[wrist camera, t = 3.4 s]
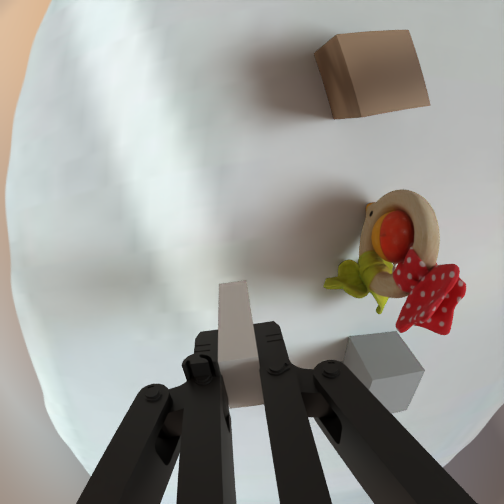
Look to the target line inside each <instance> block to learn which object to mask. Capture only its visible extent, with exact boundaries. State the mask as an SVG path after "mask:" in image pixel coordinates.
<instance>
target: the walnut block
mask: <svg viewBox="0 0 504 504" xmlns="http://www.w3.org/2000/svg"><path fill="white" fill-rule="evenodd" d="M314 56H315V59H316V62H317V65H318V68H319V71H320V74H321V77H322V81H323V84H324V87H325V90H326V94H327V97H328V101H329V104H330V107H331V111H332V115H333V118H334V119H345V118H359V117H366V116H371V115H376V114H382V113H387V112H393V111H398V110H404V109H410V108H417V107H423V106H430V101H429V97H428V93H427V89H426V85H425V81H424V78H423V74H422V70H421V67H420V64H419V60H418V57H417V54H416V51H415V47H414V44H413V41H412V38H411V36H410V33H409V30H386V31H369V32H357V33H347V34H338V35H335V36H334V37H333V38H332V39H330V40H329V41H328V42H327V43H326V44H324V45H323V46H322V47H321V48H320V49H318V50H317V51H316V52H315V53H314Z"/></svg>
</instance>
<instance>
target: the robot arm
mask: <svg viewBox="0 0 504 504" xmlns="http://www.w3.org/2000/svg"><path fill="white" fill-rule="evenodd" d="M182 368H183V371H184V374H185V376H186V379H187V382H185V383H184V384H182V385H180V386H178V387H175V388H171V389H168V388H167V387H166V386H164V385H162V384H151V385H147V386H145V387H144V388H142V389H141V390H140V392H139V393H138V394H137V396H136V398H135V400H134V401H133V403H132V405H131V406H130V408H129V410H128V412H127V413H126V415H125V417H124V419H123V420H122V422H121V424H120V426H119V427H118V429H117V431H116V433H115V434H114V436H113V438H112V440H111V442H110V443H109V445H108V447H107V449H106V450H105V452H104V454H103V456H102V458H101V459H100V461H99V463H98V465H97V467H96V468H95V470H94V472H93V474H92V476H91V477H90V479H89V481H88V483H87V485H86V487H85V489H84V490H83V492H82V494H81V496H80V498H79V500H78V501H77V503H76V504H160V502H161V500H162V497H163V495H164V492H165V490H166V487H167V484H168V482H169V479H170V477H171V474H172V471H173V469H174V466H175V464H176V461H177V458H178V456H179V453H180V458H179V472H178V487H177V504H236V492H235V477H234V462H233V446H232V429H231V417H230V413H229V407H230V408H239V407H247V406H255V405H262V404H264V406H265V412H266V419H267V425H268V431H269V438H270V444H271V450H272V457H273V463H274V469H275V475H276V481H277V488H278V494H279V500H280V504H332V502H331V498H330V495H329V491H328V487H327V484H326V480H325V477H324V473H323V469H322V466H321V462H320V459H319V455H318V452H317V448H316V444H315V441H314V437H313V434H312V430H311V427H310V423H309V420H308V417H314V419H315V421H316V422H317V424H318V425H319V427H320V428H321V430H322V431H323V432H324V434H325V435H326V437H327V438H328V440H329V441H330V443H331V444H332V445H333V447H334V448H335V450H336V451H337V453H338V454H339V455H340V457H341V458H342V460H343V461H344V462H345V464H346V465H347V467H348V468H349V469H350V471H351V472H352V474H353V475H354V476H355V478H356V479H357V481H358V482H359V483H360V485H361V486H362V487H363V489H364V490H365V492H366V493H367V494H368V496H369V497H370V498H371V500H372V501H373V502H374V504H477V503H476V502H475V501H474V500H473V499H472V498H471V497H470V496H469V495H468V494H467V493H466V492H465V491H464V489H463V488H462V487H461V486H460V485H459V484H458V483H457V482H456V481H455V480H454V479H453V478H452V477H451V476H450V475H449V474H448V473H447V472H446V471H445V470H444V469H443V468H442V467H441V466H440V464H439V463H438V462H437V461H436V460H435V459H434V458H433V457H432V456H431V455H430V454H429V453H428V452H427V451H426V450H425V449H424V448H423V447H422V446H421V445H420V444H419V442H418V441H417V440H416V439H415V438H414V437H413V436H412V435H411V434H410V433H409V432H408V431H407V430H406V429H405V428H404V427H403V426H402V425H401V423H400V422H399V421H398V420H397V419H396V418H395V417H394V416H393V415H392V414H391V413H390V412H389V411H388V410H387V409H386V408H385V407H384V405H383V404H382V403H381V402H380V401H379V400H378V399H377V398H376V397H375V396H374V395H373V394H372V393H371V392H370V391H369V390H368V388H367V387H366V386H365V385H364V384H363V383H362V382H361V381H360V380H359V379H358V378H357V377H356V376H355V375H354V374H353V372H352V371H351V370H350V369H349V368H348V367H347V366H346V365H345V364H343V363H342V362H339V361H336V360H327V361H323V362H321V363H319V364H317V366H316V367H315V368H314V369H302V368H298V367H296V366H294V365H293V364H292V363H291V362H290V360H289V357H288V354H287V350H286V347H285V343H284V340H283V336H282V333H281V329H280V326H279V325H278V324H276V323H275V322H274V321H271V322H264V323H258V324H253V320H252V314H251V308H250V301H249V295H248V288H247V282H246V280H244V281H237V282H230V283H223V284H219V311H218V330H211V331H203V332H200V333H199V334H198V336H197V337H196V339H195V348H194V354H192V355H190V356H188V357H187V358H186V359H185V360H184V361H183V363H182Z"/></svg>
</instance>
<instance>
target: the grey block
mask: <svg viewBox="0 0 504 504" xmlns="http://www.w3.org/2000/svg"><path fill="white" fill-rule="evenodd" d="M343 364H345V365H346V366H347V367H348V368H349V369H350V370H351V371H352V372H353V374H354V375H355V376H356V377H357V378H358V379H359V380H360V381H361V382H362V383H363V384H364V385H365V386H366V387H367V388H368V390H369V391H370V392H371V393H372V394H373V395H374V396H375V397H376V398H377V399H378V400H379V401H380V402H381V403H382V404H383V405H384V407H385V408H386V409H387V410H388V411H389V412H390V413H396V412H400V411H404V410H407V408H408V406H409V404H410V402H411V400H412V398H413V396H414V393H415V391H416V389H417V387H418V385H419V382H420V380H421V378H422V376H423V373H424V371H425V370H424V368H423V367H422V366H421V364H420V363H419V361H418V360H417V359H416V357H415V356H414V354H413V353H412V352H411V350H410V349H409V348H408V346H407V345H406V344H405V342H404V341H403V340H402V338H401V337H400V335H399V334H398V333H397V331H393V332H385V333H376V334H367V335H357V336H349V339H348V344H347V348H346V352H345V357H344V361H343Z"/></svg>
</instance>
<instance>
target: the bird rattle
mask: <svg viewBox="0 0 504 504" xmlns="http://www.w3.org/2000/svg"><path fill="white" fill-rule="evenodd" d="M439 241H440V236H439V226H438V222H437V218H436V215H435V213H434V210H433V208H432V207H431V205H430V204H429V203H428V201H427V200H426V199H425V198H423V197H422V196H420V195H419V194H417V193H415V192H412V191H409V190H395V191H392V192H389V193H387V194H386V195H384V196H383V197H381V198H380V199H379V200H378V201H377V202H372V203H369V204H367V206H366V218H365V221H364V224H363V228H362V232H361V237H360V246H359V259H358V263H356V262H355V261H353V260H345V261H344V262H342V263H341V264H340V265H339V267H338V276H337V277H333V278H327V279H326V280H325V283H324V286H323V287H324V288H326V289H343V290H344V291H345V292H346V293H348V294H349V295H351V296H353V297H356V298H363V297H365V296H367V295H368V293H369V292H370V293H371V294H372V295H373V296H374V298H375V299H376V301H377V303H378V307H377V309H376V312H377V313H378V314H381V313H382V311H383V308H384V306H385V304H386V302H387V300H388V298H389V297H390V298H402V297H405V296H408V297H407V300H406V302H405V304H404V306H403V307H402V310H401V312H400V315H399V317H398V320H397V322H396V328H397V330H398V331H399V332H400V333H403V332H405V331H407V330H408V329H409V328H410V327H411V326H412V325H414V326H420V327H424V328H426V329H429V330H431V331H433V332H435V333H438V334H440V335H447V334H448V333H449V332H450V329H451V325H452V320H453V313H454V309H455V306H456V305H457V304H458V302H459V301H460V300H461V299H462V298H463V297H464V295H465V292H466V284H465V282H463V281H462V280H461V279H460V278H459V272H460V271H459V267H458V266H457V265H455V264H444V265H437V263H436V260H437V256H438V251H439ZM392 263H393V264H394V266H393V264H392ZM397 263H398V265H397V267H396V269H395V265H396V264H397Z"/></svg>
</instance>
